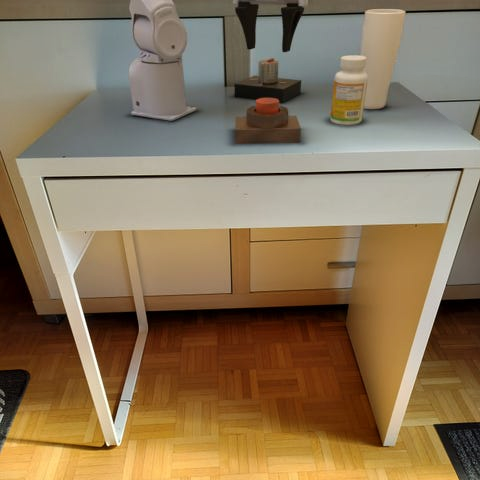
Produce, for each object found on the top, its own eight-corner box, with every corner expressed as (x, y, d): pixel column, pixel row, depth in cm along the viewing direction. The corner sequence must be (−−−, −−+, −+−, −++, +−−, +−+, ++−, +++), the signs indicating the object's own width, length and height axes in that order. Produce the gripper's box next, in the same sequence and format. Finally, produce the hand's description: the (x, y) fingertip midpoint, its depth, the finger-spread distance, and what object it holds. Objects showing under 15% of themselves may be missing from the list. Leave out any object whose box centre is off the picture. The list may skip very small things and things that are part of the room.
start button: (256, 116, 69) (256, 103, 68) (255, 109, 72) (255, 97, 71) (279, 115, 69) (279, 103, 68) (277, 109, 72) (278, 97, 71)
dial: (272, 84, 90) (273, 62, 88) (254, 82, 92) (254, 60, 89) (281, 80, 93) (282, 58, 90) (263, 78, 94) (264, 57, 92)
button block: (235, 144, 70) (235, 116, 68) (235, 130, 76) (235, 104, 73) (300, 142, 70) (301, 115, 68) (295, 129, 76) (297, 103, 73)
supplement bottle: (339, 115, 82) (347, 53, 75) (367, 120, 79) (376, 56, 73) (324, 122, 78) (330, 58, 72) (352, 127, 76) (360, 61, 70)
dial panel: (234, 97, 93) (234, 82, 91) (254, 88, 99) (254, 74, 97) (283, 103, 89) (283, 88, 87) (300, 93, 94) (301, 79, 93)
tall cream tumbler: (387, 112, 82) (405, 13, 73) (349, 109, 84) (362, 12, 75) (390, 103, 87) (407, 9, 78) (354, 100, 89) (367, 8, 79)
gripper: (317, -40, 80) (310, 49, 88) (245, -39, 85) (245, 44, 94) (301, -39, 75) (296, 55, 83) (226, -39, 80) (228, 49, 89)
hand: (268, 50), depth 88 cm, fingers open, 7 cm apart
